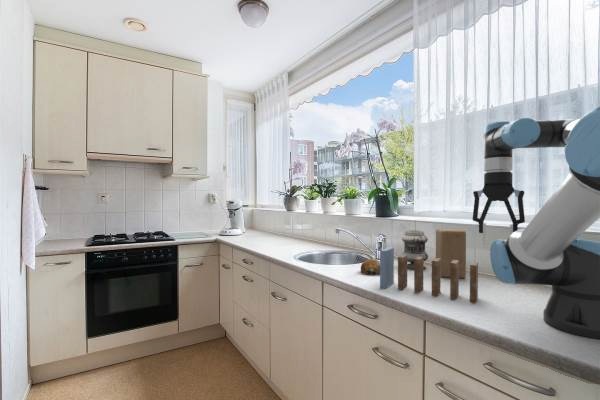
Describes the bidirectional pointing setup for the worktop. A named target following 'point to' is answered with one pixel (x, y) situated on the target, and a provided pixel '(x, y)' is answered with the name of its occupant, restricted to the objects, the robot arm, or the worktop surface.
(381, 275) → the board
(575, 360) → the worktop surface
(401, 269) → the domino
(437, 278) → the domino
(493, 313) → the worktop surface
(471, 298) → the loose domino
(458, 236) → the wooden block
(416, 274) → the domino
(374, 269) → the brown furry rounded lump
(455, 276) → the domino
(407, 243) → the grey tall rounded piece
